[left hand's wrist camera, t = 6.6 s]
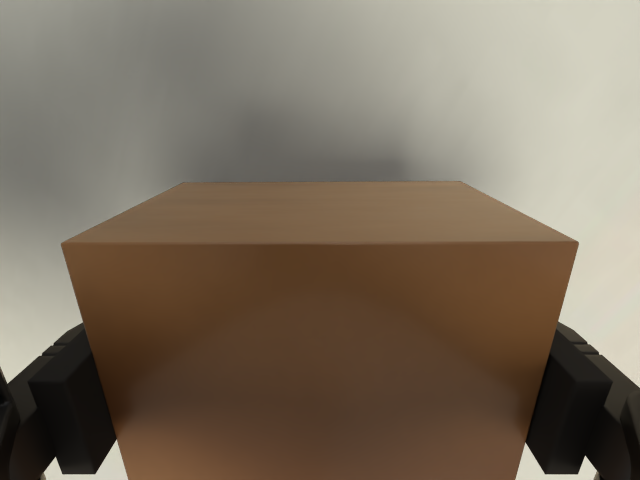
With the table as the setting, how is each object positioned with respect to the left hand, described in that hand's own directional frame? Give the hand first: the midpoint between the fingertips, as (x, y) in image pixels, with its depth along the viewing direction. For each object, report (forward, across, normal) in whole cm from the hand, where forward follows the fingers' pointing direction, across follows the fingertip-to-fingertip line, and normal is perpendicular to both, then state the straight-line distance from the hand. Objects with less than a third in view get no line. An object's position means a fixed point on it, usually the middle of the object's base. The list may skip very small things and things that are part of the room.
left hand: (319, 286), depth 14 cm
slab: (0, 0, -32) cm, 33 cm away
